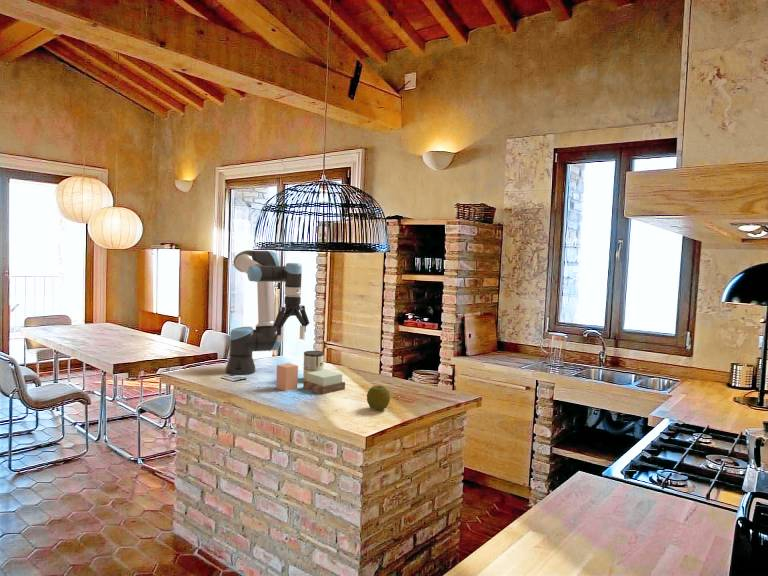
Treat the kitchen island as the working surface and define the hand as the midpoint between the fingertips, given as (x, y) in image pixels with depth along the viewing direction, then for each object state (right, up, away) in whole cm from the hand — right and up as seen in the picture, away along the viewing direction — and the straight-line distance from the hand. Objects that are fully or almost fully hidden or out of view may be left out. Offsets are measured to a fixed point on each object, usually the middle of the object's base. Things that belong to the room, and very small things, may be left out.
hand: (291, 340), depth 269 cm
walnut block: (+15, -24, +3) cm, 29 cm away
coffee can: (+8, -22, +20) cm, 31 cm away
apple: (+41, -27, -28) cm, 57 cm away
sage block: (+15, -20, +2) cm, 25 cm away
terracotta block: (-2, -23, +1) cm, 23 cm away
